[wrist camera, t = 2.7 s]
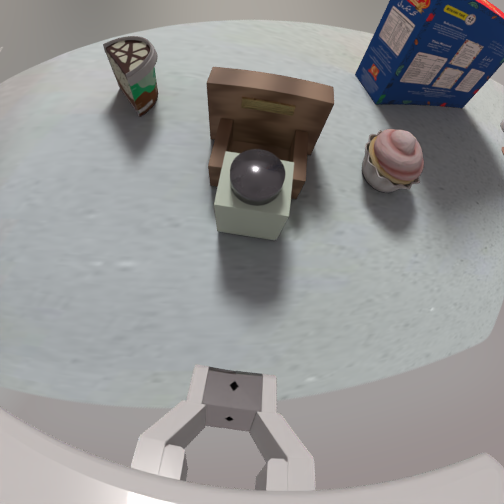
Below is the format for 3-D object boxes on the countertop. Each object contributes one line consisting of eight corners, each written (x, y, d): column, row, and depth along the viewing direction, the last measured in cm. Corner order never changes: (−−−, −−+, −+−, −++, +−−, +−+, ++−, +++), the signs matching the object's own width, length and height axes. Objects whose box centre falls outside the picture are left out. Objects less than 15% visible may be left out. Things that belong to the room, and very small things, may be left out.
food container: (178, 103, 39) (170, 55, 30) (143, 122, 38) (127, 75, 28) (147, 68, 41) (137, 26, 31) (117, 84, 40) (101, 43, 30)
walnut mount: (197, 190, 36) (186, 139, 25) (215, 123, 39) (212, 66, 28) (306, 207, 36) (335, 163, 26) (311, 138, 39) (333, 86, 28)
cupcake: (405, 211, 38) (445, 182, 28) (349, 190, 37) (381, 152, 28) (406, 160, 40) (439, 126, 30) (354, 139, 40) (381, 98, 30)
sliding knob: (217, 231, 34) (212, 195, 25) (226, 186, 36) (225, 139, 26) (275, 240, 34) (293, 208, 25) (281, 195, 36) (298, 151, 26)
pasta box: (444, 82, 48) (499, 9, 21) (462, 108, 46) (525, 35, 19) (355, 74, 44) (408, -42, 17) (375, 104, 43) (446, -16, 15)
